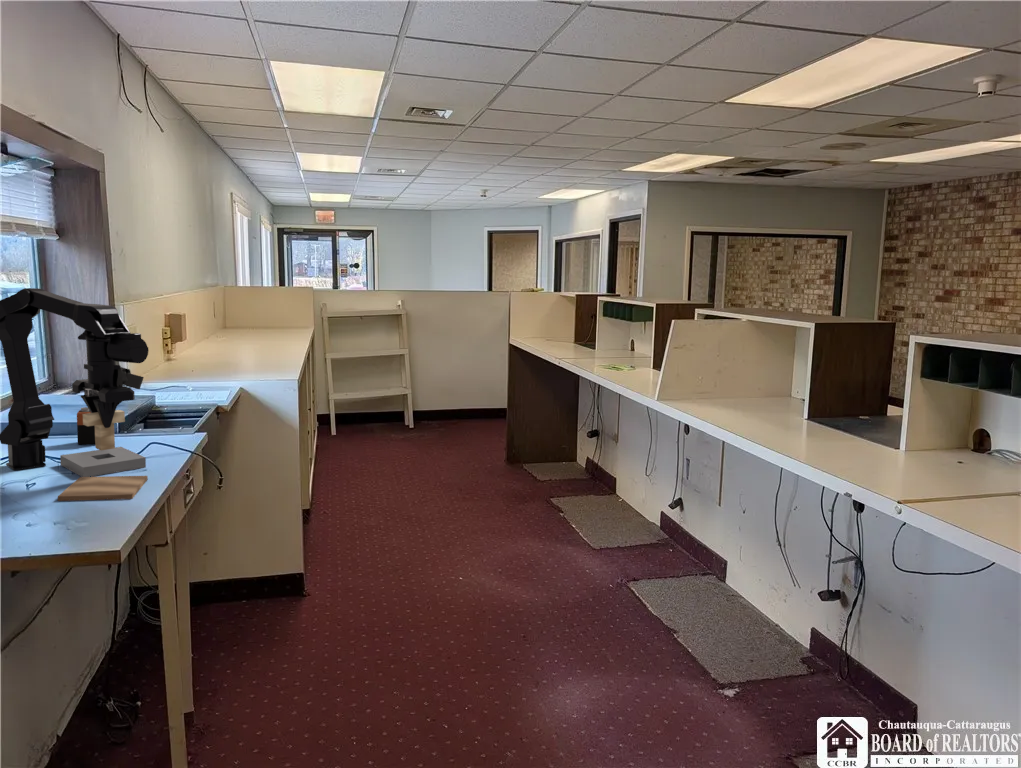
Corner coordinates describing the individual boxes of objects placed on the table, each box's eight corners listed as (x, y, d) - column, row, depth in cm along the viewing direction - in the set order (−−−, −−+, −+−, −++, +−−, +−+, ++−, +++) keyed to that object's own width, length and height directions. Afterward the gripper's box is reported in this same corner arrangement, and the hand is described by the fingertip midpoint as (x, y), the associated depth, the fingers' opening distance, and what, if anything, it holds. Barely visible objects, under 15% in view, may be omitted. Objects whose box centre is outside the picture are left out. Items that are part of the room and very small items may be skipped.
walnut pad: (132, 498, 145) (132, 494, 145) (58, 500, 141) (57, 496, 141) (147, 479, 158) (147, 475, 158) (80, 481, 154) (79, 477, 154)
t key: (89, 452, 153) (87, 415, 152) (83, 449, 155) (82, 413, 154) (126, 446, 160) (124, 411, 158) (120, 444, 161) (119, 409, 160)
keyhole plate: (83, 477, 157) (83, 467, 156) (60, 465, 165) (60, 455, 165) (145, 467, 168) (145, 457, 167) (121, 455, 176) (121, 446, 176)
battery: (79, 441, 187) (78, 406, 186) (107, 440, 190) (107, 406, 189) (77, 445, 184) (76, 409, 182) (106, 444, 186) (105, 409, 185)
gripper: (157, 362, 155) (158, 428, 157) (120, 354, 166) (122, 415, 168) (105, 365, 146) (107, 435, 148) (69, 356, 157) (72, 421, 159)
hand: (104, 426), depth 156 cm, fingers closed on t key, 3 cm apart
